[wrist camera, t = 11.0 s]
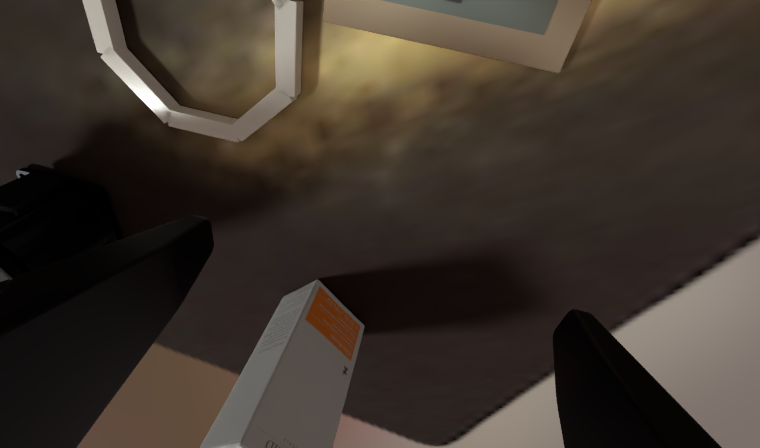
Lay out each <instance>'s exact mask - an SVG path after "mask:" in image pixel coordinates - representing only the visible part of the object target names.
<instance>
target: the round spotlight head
mask: <svg viewBox="0 0 760 448" xmlns="http://www.w3.org/2000/svg"><path fill="white" fill-rule="evenodd" d="M447 1H451V2H455V3H460V4H461V3H462V0H447Z"/></svg>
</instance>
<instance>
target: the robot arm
mask: <svg viewBox="0 0 760 448" xmlns="http://www.w3.org/2000/svg"><path fill="white" fill-rule="evenodd" d="M16 175H17V177H18V179H16V180H13V181H11V182H9V183H7V184H5V185H2V186H0V448H77V446H78V445H79V444H80V442H81V441H82V439H83V438H84V436H85V435H86V434H87V432H88V431H89V430H90V429H91V427H92V426H93V424H94V423H95V421H96V420H97V419H98V418H99V416H100V415H101V413H102V412H103V411H104V409H105V408H106V407H107V405H108V404H109V403H110V401H111V400H112V399H113V397H114V396H115V394H116V393H117V392H118V390H119V389H120V388H121V386H122V384H124V382H125V381H126V379H127V378H128V377H129V375H130V374H131V373H132V371H133V370H134V369H135V367H136V366H137V364H138V363H139V362H140V360H141V359H142V358H143V356H144V355H145V354H146V352H147V351H148V349H149V348H150V347H151V345H152V344H153V343H154V341H155V340H156V339H157V337H158V336H159V335H160V333H161V332H162V330H163V329H164V328H165V326H166V325H167V324H168V322H169V321H170V320H171V318H172V317H173V315H174V314H175V313H176V311H177V310H178V308H179V307H180V306H181V304H182V303H183V301H184V300H185V298H186V296H187V295H188V293H189V291H190V289H191V288H192V286H193V284H194V283H195V281H196V279H197V277H198V276H199V274H200V272H201V270H202V269H203V267H204V265H205V264H206V262H207V260H208V258H209V257H210V255H211V253H212V251H213V247H214V241H213V234H212V228H211V222H210V220H209V219H207V218H205V217H201V216H197V215H189V216H186V217H183V218H181V219H178V220H175V221H172V222H169V223H166V224H164V225H161V226H158V227H155V228H152V229H149V230H147V231H144V232H141V233H138V234H135V235H132V236H130V237H127V238H124V239H122V237H121V234H120V232H119V229H118V226H117V223H116V220H115V218H114V215H113V212H112V209H111V206H110V203H109V201H108V198H107V195H106V192H105V191H104V190H103V189H102V188H101V187H99V186H96V185H92V184H88V183H84V182H80V181H76V180H72V179H68V178H64V177H60V176H56V175H52V174H48V173H44V172H40V171H36V170H32V169H28V168H22V169H20V170H17V171H16ZM553 351H554V368H555V385H556V397H557V404H558V412H559V418H560V424H561V429H562V435H563V441H564V446H565V448H722V447H721V446H720V445H719V444H718V443H717V442H716V441H715V440H714V439H713V438H712V437H711V436H710V435H709V434H708V433H707V432H706V431H705V430H704V429H703V428H702V427H701V426H700V425H699V424H698V423H697V422H696V421H695V420H694V419H693V418H692V417H691V416H690V415H689V414H688V412H687V411H686V410H685V409H684V408H682V406H681V405H680V404H679V403H678V402H677V401H676V400H675V399H674V398H673V397H672V396H671V395H670V394H669V393H668V392H667V391H666V390H665V389H664V388H663V387H662V386H661V385H660V384H659V383H658V382H657V381H656V380H655V379H654V378H653V377H652V376H651V375H650V374H649V373H648V372H647V371H646V369H645V368H643V366H642V365H641V364H640V363H639V362H638V361H637V360H636V359H635V358H634V357H633V356H632V355H631V354H630V353H629V352H628V351H627V350H626V349H625V348H624V347H623V346H622V345H621V344H620V343H619V342H618V341H617V340H616V339H615V338H614V337H613V336H612V335H611V334H610V333H609V332H608V330H607V329H606V328H605V327H604V326H603V325H602V324H601V323H600V322H599V321H598V320H597V319H596V318H595V317H594V316H593V315H592V314H590V313H588V312H584V311H580V310H575V309H573V310H570V311H569V312H568V313H567V314H566V316H565V317H564V318H563V320H562V321H561V322H560V324H559V325H558V326H557V328H556V329H555V331H554V334H553Z"/></svg>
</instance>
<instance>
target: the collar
mask: <svg viewBox="0 0 760 448" xmlns="http://www.w3.org/2000/svg"><path fill="white" fill-rule="evenodd" d="M272 1H273V3H274V4H275V70H276V88H275V89H274V90H272V91H271V92H270V93H269V94H268V95H266V96H265V97H264V98H263V99H262V100H261V101H259V102H258V103H257V104H256V105H255V106H253V107H252V108H251V109H250V110H249V111H248V112H246V113H245V114H244V115H243V116H242V117H240V118H239V119H235V118H231V117H227V116H222V115H218V114H214V113H210V112H205V111H201V110H197V109H193V108H188V107H184V106H180V105H179V104H178V103H177V102H176V101H175V100H174V98H173V97H172V96H171V95H170V94H169V93H168V92H167V91H166V90H165V89H164V88H163V86H162V85H161V84H160V83H159V82H158V81H157V80H156V79H155V78H154V77H153V76H152V75H151V73H150V72H149V71H148V70H147V69H146V68H145V67H144V66H143V65H142V64H141V63H140V62H139V60H138V59H137V58H136V57H135V56H134V55H133V54H132V53H131V52H130V51H129V50H128V49H127V46H126V42H125V38H124V34H123V30H122V25H121V21H120V17H119V13H118V9H117V5H116V1H115V0H83V4H84V7H85V11H86V14H87V18H88V21H89V25H90V28H91V32H92V35H93V39H94V42H95V45H96V49H97V52H99V53H103V55H102V56H101V58H102V59H103V60H104V61H105V63H106V64H107V65H108V66H109V67H110V68H111V69H112V70H113V71H114V72H115V73H116V74H117V75H118V76H119V77H120V78H121V79H122V80H123V81H124V82H125V83H126V84H127V85H128V86H129V87H130V88H131V89H132V91H133V92H134V93H135V94H136V95H137V96H138V97H139V98H140V99H141V100H142V101H143V102H144V103H145V104H146V105H147V106H148V107H149V108H150V109H151V110H152V111H153V112H154V113H155V114H156V115H157V116H158V117H159V118H160V120H161V121H162V122H163V123H164V124H165V123H167V122H168V125H169V126H170V127H174V128H178V129H183V130H187V131H191V132H195V133H199V134H204V135H208V136H212V137H216V138H220V139H225V140H229V141H233V142H237V143H238V142H239V141H241V142H242V141H244V140H245V139H246V138H248V137H249V136H250V135H251V134H253V133H254V132H255V131H256V130H258V129H259V128H260V127H261V126H263V125H264V124H265V123H267V122H268V121H269V120H270V119H272V118H273V117H274V116H275V115H277V114H278V113H279V112H280V111H282V110H283V109H284V108H285V107H287V106H288V105H289V104H290V103H292V102H293V101H294V100H296V99H297V98H298V97H299V96H298V94H300V93H301V66H302V35H303V3H304V1H301V0H272Z"/></svg>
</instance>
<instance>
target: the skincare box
mask: <svg viewBox="0 0 760 448" xmlns="http://www.w3.org/2000/svg"><path fill="white" fill-rule="evenodd" d="M364 327H365V326H364V324H363V323H362V322H360V321H359V320H358V319H357V318H356V317H355V316H354V315H353V314H352V313H351V312H350V311H349V310H348V309H347V308H346V307H345V306H344V305H343V304H342V303H341V302H340V301H339V300H338V299H337V298H336V297H335V296H334V295H333V294H332V293H331V292H330V291H329V290H328V289H327V288H326V287H325V286H324V285H323V284H322V282H321V281H319V280H315V281H313V282H311V283H309V284H307V285H305V286H303V287H302V288H300V289H298V290H296V291H294V292H291V293H289V294H287V295H285V296H284V297H283V298H282V300H281V302H280V304H279V306H278V307H277V309H276V311H275V313H274V315H273V316H272V318H271V320H270V322H269V324H268V325H267V327H266V329H265V331H264V333H263V335H262V336H261V338H260V340H259V342H258V344H257V346H256V347H255V349H254V351H253V353H252V355H251V357H250V358H249V360H248V362H247V364H246V366H245V367H244V369H243V371H242V373H241V375H240V376H239V378H238V380H237V382H236V384H235V386H234V387H233V389H232V391H231V393H230V395H229V396H228V398H227V400H226V402H225V404H224V406H223V407H222V409H221V411H220V412H219V415H218V416H217V418H216V420H215V422H214V423H213V425H212V427H211V429H210V431H209V432H208V434H207V436H206V437H205V439H204V441H203V443H202V444H201V446H200V448H332V447H333V443H334V440H335V436H336V432H337V428H338V425H339V421H340V417H341V413H342V409H343V406H344V402H345V398H346V395H347V391H348V387H349V384H350V380H351V376H352V372H353V368H354V365H355V361H356V357H357V354H358V350H359V346H360V342H361V338H362V335H363V331H364Z"/></svg>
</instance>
